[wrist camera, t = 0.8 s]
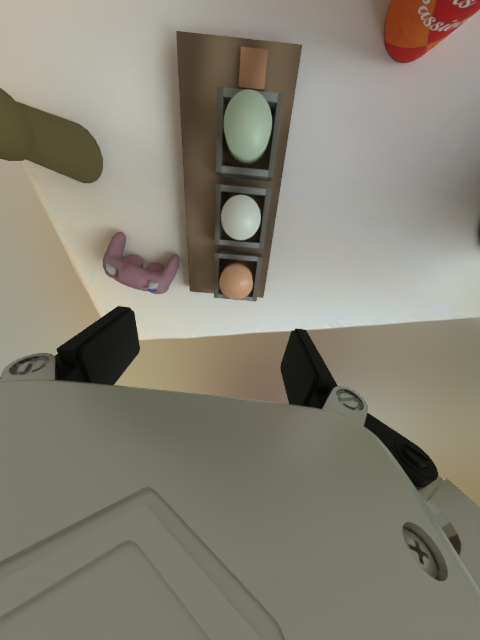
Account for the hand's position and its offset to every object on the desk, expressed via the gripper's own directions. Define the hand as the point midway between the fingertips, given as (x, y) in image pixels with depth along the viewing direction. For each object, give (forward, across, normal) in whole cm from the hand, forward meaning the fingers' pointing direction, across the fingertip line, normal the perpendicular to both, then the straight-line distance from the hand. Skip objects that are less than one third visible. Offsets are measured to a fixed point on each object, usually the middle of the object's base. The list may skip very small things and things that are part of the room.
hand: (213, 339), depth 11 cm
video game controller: (+22, +13, +1) cm, 25 cm away
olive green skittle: (+22, +21, -11) cm, 32 cm away
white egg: (+17, -1, -7) cm, 18 cm away
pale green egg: (+17, 0, -14) cm, 22 cm away
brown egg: (+17, -1, +1) cm, 17 cm away
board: (+21, +1, -8) cm, 23 cm away
